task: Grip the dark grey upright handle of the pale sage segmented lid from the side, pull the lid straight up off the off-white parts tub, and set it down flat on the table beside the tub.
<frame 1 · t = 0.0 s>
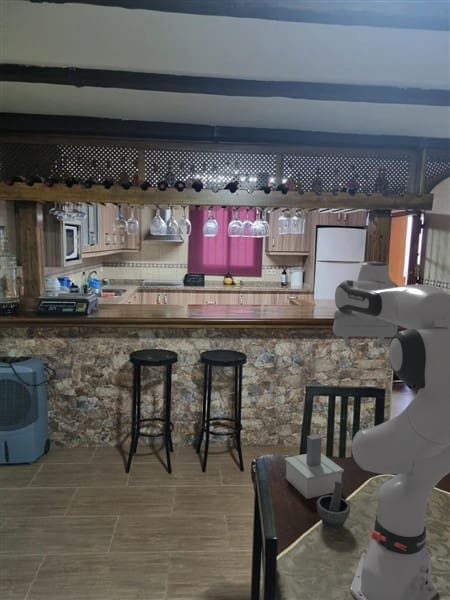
hand: (361, 346, 140), 52 cm above the table, tool tilted 20°, fingers open, 8 cm apart
lid: (313, 465, 151), point 7 cm above the table, touching tub
mortar and pestle: (333, 524, 129), on the table
tub: (312, 484, 151), on the table
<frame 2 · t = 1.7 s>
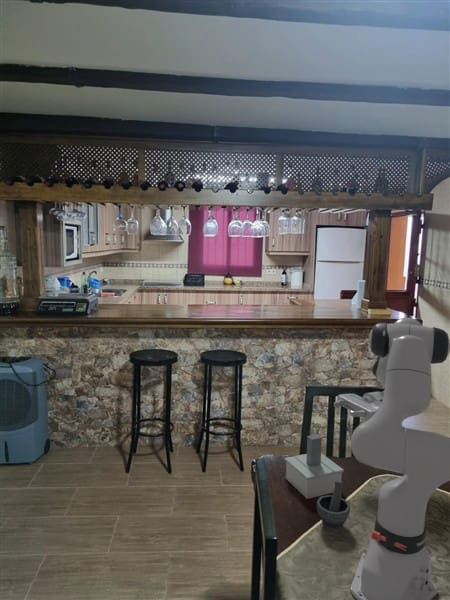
hand: (342, 409, 153), 26 cm above the table, tool horizontal, fingers open, 8 cm apart
nothing on the table moved.
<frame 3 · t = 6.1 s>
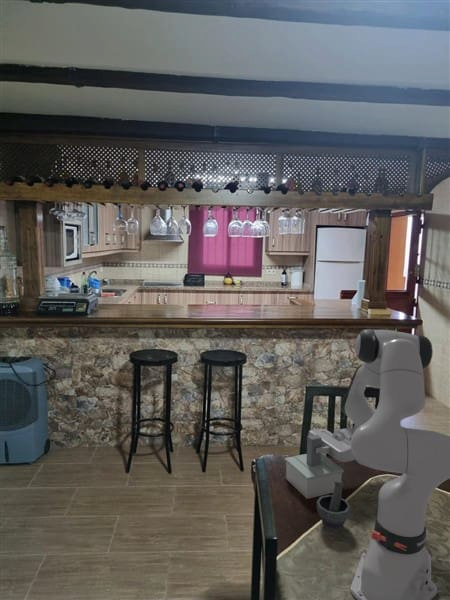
hand: (311, 447, 150), 14 cm above the table, tool horizontal, fingers closed on lid, 3 cm apart
lid: (313, 465, 151), point 7 cm above the table, touching gripper, tub
everything else where it was.
when the fingers open (10 cm above the table, at t = 13.3 s): lid drops 2 cm, point 1 cm above the table.
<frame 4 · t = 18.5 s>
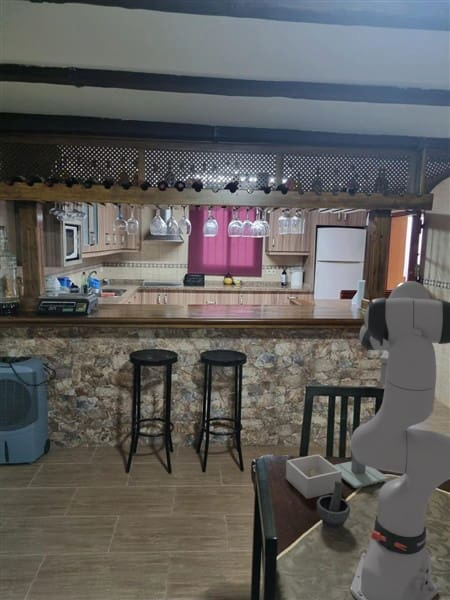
hand: (395, 392, 151), 33 cm above the table, tool pointing down, fingers open, 8 cm apart
lid: (358, 473, 157), point 1 cm above the table
everything else where it was.
at the end: lid inside the target area (0.0 cm from its centre), point 1.2 cm above the table; lid tilted 0°; lid touching table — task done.
